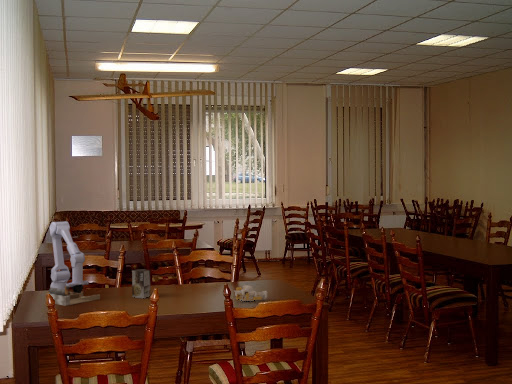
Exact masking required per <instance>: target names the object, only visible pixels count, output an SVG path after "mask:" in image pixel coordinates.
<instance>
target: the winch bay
mask: <svg viewBox="0 0 512 384" xmlns="http://www.w3.org/2000/svg"><path fill="white" fill-rule="evenodd" d="M70 288H71V287H69V286H65V290H64V289H57V288H49V289H48V292H47V293H46V295H47V294H50V295H51V296H52V297H53V299H54V300H55V305H59V306H64V307H66V306H70V305H75V304H80V303H87V302H92V301H98V300H101V294H93V295H87V296H84V291H81V298H76V299H71V300H70V296H69V295H67V294H68V292H69V290H70Z"/></svg>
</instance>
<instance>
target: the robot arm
mask: <svg viewBox="0 0 512 384" xmlns="http://www.w3.org/2000/svg"><path fill="white" fill-rule="evenodd" d="M70 230H71V226H70V224H69V221H52V222H51V223H50V224H49V233H50V237H51V240H52V241H51V242H52V249H53V250H52V251H53V257H54V258H53V259H54V266H53V267H52V268H51V270H50V273H51V274H50V278H51V284H50V286H49V287H50V288H57V289H64V290H65V286H69V287H70V288H71V290H72V292H75V293H81V292H83V289H84V287H85V286H84V285H89V280H84V279H83V277H84V276H83V273H84V272H83V271H84V269H83V267H84V264H83V263H85V261H86V257H85V256H86V255H85V254H84V252H82V251H80V249H79V247H78V244H77V243H76V242H74V240H73V238H72V235H71V232H70ZM62 238H63V239H64V241H65V243H66V250H67V252H68V254H69V256H70V259H69V260H70V263H71V269H72V272H70V270H69V267H68V266H67V265H66V264H65V260H64V259H65V258H64V251H63V243H62ZM71 273H72V276H71ZM71 277H72V281H71V282H69V280H70V278H71ZM50 288H49V289H50Z"/></svg>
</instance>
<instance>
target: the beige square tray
mask: <svg viewBox="0 0 512 384" xmlns="http://www.w3.org/2000/svg"><path fill="white" fill-rule="evenodd" d="M67 295H69V296H70V300H71V299H76V298H81V293H75V292H73V291H68V294H67Z"/></svg>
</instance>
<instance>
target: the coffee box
mask: <svg viewBox="0 0 512 384" xmlns="http://www.w3.org/2000/svg"><path fill="white" fill-rule="evenodd" d="M131 272H132V273H131V275H132V277H131V278H132V280H131V282H132V284H131V287H132V289H131V290H132V293H131V294H132V295H131V296H132V298H134V297H135V298H137V299H143V298H144V299H147V298H146V297H149V296H150V297H151V269H141V268H138V269H134V270H131ZM150 297H149V298H150ZM135 298H134V299H135Z"/></svg>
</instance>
